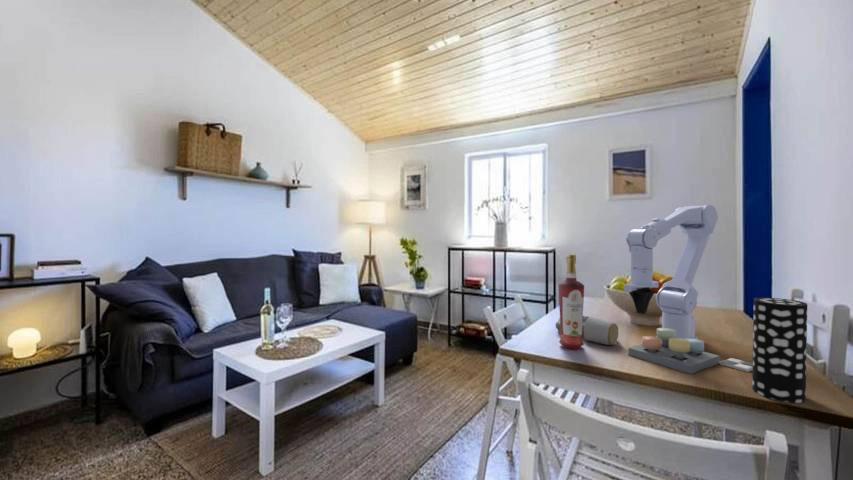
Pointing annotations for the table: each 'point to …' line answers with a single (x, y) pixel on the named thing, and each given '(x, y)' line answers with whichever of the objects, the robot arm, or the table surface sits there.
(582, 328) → the dish
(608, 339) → the grey cylinder
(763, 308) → the white-spotted black cylinder
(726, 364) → the card
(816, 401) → the table surface
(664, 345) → the button
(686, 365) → the button console
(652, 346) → the button
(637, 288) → the robot arm
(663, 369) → the table surface
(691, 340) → the button
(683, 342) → the button
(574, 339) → the liquor
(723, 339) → the table surface
